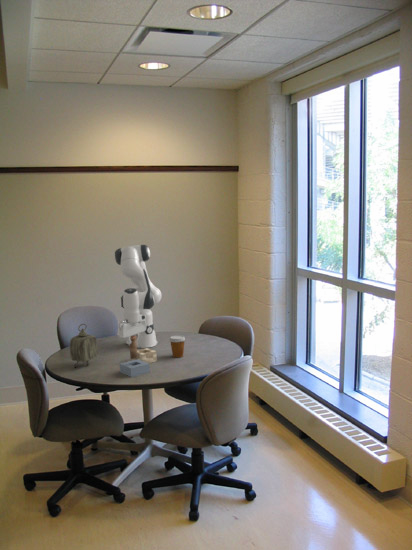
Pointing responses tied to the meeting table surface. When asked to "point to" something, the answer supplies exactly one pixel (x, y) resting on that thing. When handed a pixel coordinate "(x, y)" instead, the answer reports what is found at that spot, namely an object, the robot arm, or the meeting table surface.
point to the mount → (146, 355)
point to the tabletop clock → (83, 347)
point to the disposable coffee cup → (177, 345)
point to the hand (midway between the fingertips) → (133, 342)
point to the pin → (133, 347)
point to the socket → (134, 368)
